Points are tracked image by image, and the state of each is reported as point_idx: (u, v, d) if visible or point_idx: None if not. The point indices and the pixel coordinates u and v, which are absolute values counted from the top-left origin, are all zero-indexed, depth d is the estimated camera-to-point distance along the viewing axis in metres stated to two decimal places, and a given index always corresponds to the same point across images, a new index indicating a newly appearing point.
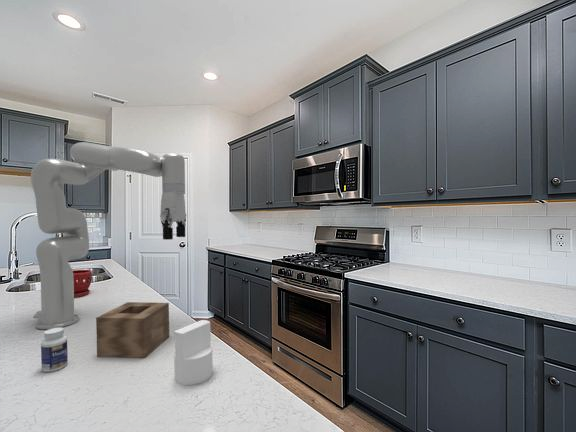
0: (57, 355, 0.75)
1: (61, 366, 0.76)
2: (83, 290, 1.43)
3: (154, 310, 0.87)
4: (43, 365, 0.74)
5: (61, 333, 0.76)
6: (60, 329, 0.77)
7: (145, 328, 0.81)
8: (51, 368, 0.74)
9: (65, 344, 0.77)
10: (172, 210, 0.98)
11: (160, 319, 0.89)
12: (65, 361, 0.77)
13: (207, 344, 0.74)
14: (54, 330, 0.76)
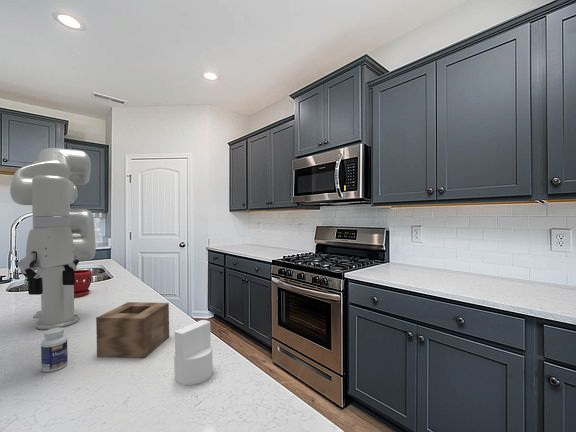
0: (57, 355, 0.75)
1: (61, 366, 0.76)
2: (83, 290, 1.43)
3: (154, 310, 0.87)
4: (43, 365, 0.74)
5: (61, 333, 0.76)
6: (60, 329, 0.77)
7: (145, 328, 0.81)
8: (51, 368, 0.74)
9: (65, 344, 0.77)
10: (41, 254, 0.71)
11: (160, 319, 0.89)
12: (65, 361, 0.77)
13: (207, 344, 0.74)
14: (54, 330, 0.76)
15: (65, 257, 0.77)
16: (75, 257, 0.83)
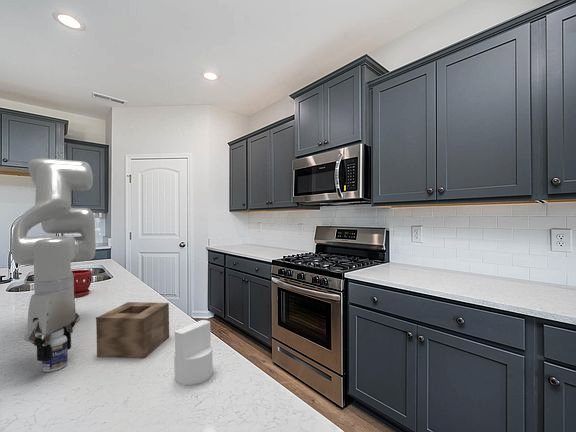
0: (57, 355, 0.75)
1: (61, 366, 0.76)
2: (83, 290, 1.43)
3: (154, 310, 0.87)
4: (43, 365, 0.74)
5: (61, 333, 0.76)
6: (60, 329, 0.77)
7: (145, 328, 0.81)
8: (51, 368, 0.74)
9: (65, 344, 0.77)
10: (43, 320, 0.72)
11: (160, 319, 0.89)
12: (65, 361, 0.77)
13: (207, 344, 0.74)
14: None
15: (66, 318, 0.78)
16: None
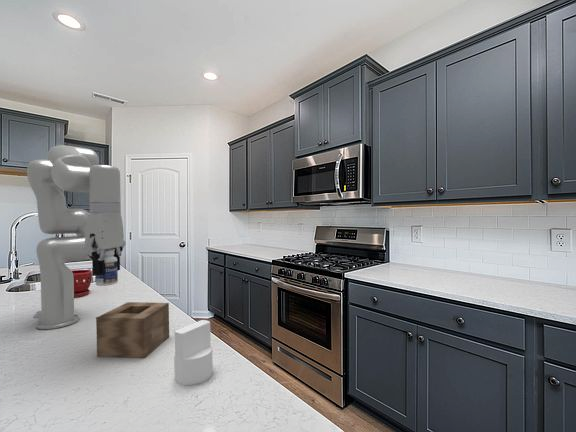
0: (110, 271, 0.82)
1: (113, 282, 0.83)
2: (83, 290, 1.43)
3: (154, 310, 0.87)
4: (97, 279, 0.81)
5: (112, 253, 0.83)
6: (111, 249, 0.84)
7: (145, 328, 0.81)
8: (105, 282, 0.81)
9: (116, 263, 0.84)
10: (99, 236, 0.79)
11: (160, 319, 0.89)
12: (116, 278, 0.84)
13: (207, 344, 0.74)
14: (106, 250, 0.84)
15: (117, 240, 0.85)
16: None
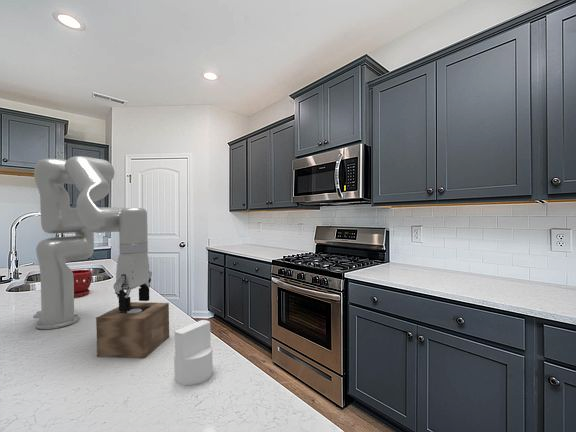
0: None
1: None
2: (83, 290, 1.43)
3: (154, 310, 0.87)
4: None
5: None
6: (139, 310, 0.89)
7: (145, 328, 0.81)
8: None
9: None
10: (129, 276, 0.83)
11: (160, 319, 0.89)
12: None
13: (207, 344, 0.74)
14: (134, 310, 0.88)
15: (144, 277, 0.89)
16: None
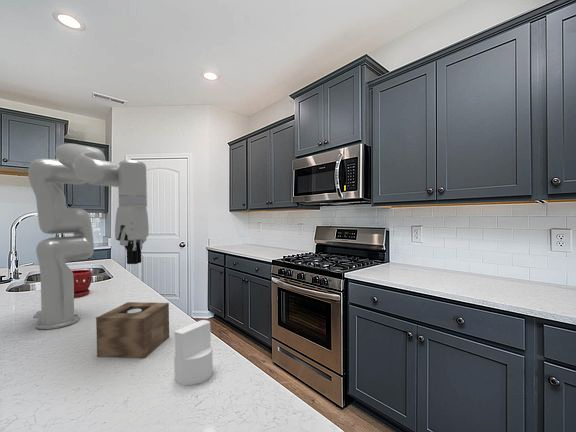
0: None
1: None
2: (83, 290, 1.43)
3: (154, 310, 0.87)
4: None
5: None
6: (139, 310, 0.89)
7: (145, 328, 0.81)
8: None
9: None
10: (129, 227, 0.83)
11: (160, 319, 0.89)
12: None
13: (207, 344, 0.74)
14: (134, 310, 0.88)
15: (143, 232, 0.89)
16: None
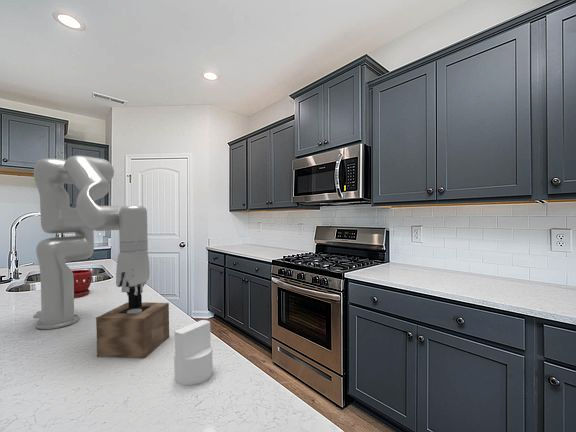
0: None
1: None
2: (83, 290, 1.43)
3: (154, 310, 0.87)
4: None
5: None
6: (139, 310, 0.89)
7: (145, 328, 0.81)
8: None
9: None
10: (130, 274, 0.83)
11: (160, 319, 0.89)
12: None
13: (207, 344, 0.74)
14: (134, 310, 0.88)
15: (144, 275, 0.89)
16: None
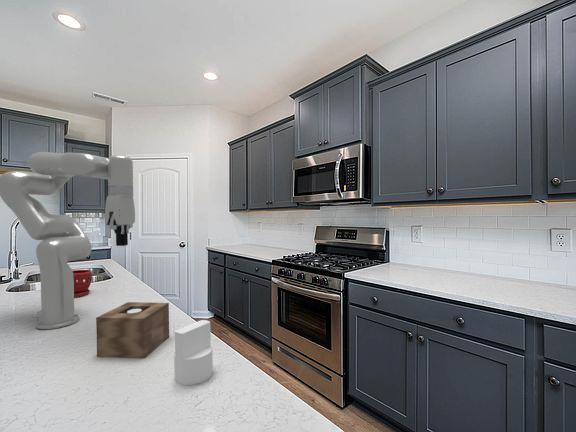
0: None
1: None
2: (83, 290, 1.43)
3: (154, 310, 0.87)
4: None
5: None
6: (139, 310, 0.89)
7: (145, 328, 0.81)
8: None
9: None
10: (116, 213, 0.96)
11: (160, 319, 0.89)
12: None
13: (207, 344, 0.74)
14: (134, 310, 0.88)
15: (130, 218, 1.02)
16: (128, 225, 1.04)
